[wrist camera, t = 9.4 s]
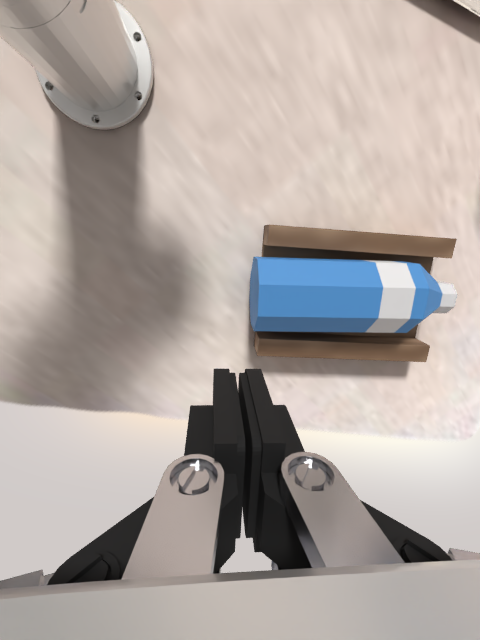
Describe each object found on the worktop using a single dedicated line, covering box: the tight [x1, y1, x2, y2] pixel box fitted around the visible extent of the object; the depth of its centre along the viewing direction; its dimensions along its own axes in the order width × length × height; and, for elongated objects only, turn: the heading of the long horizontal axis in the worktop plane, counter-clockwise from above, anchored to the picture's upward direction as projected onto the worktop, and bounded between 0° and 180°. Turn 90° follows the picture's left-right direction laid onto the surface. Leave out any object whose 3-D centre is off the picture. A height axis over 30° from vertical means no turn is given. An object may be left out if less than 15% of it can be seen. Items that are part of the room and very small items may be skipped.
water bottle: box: [250, 257, 457, 333], centre depth 39 cm, size 9×9×25 cm
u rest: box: [254, 225, 456, 362], centre depth 42 cm, size 17×24×4 cm
